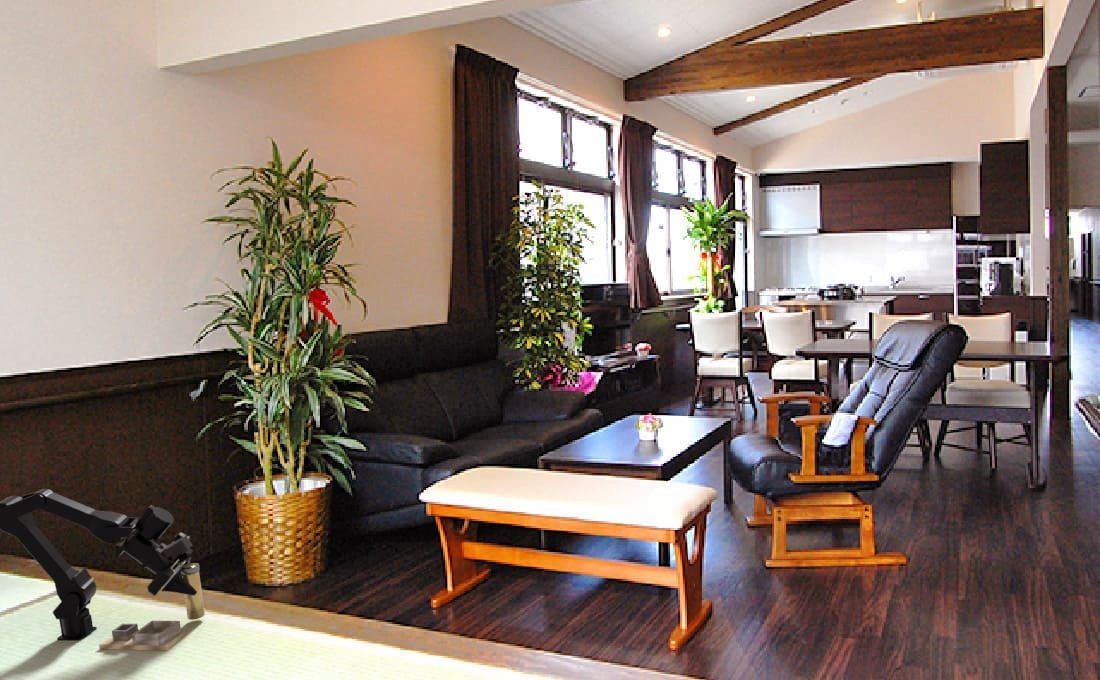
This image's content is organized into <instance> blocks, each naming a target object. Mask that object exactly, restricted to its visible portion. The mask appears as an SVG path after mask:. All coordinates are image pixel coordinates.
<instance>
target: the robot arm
mask: <svg viewBox="0 0 1100 680" xmlns="http://www.w3.org/2000/svg"><path fill="white" fill-rule="evenodd" d="M38 510H40V511H41V510H42V511H44V512H46V513H49V514H51V515H52V516H53V515H54V516H56V517H58V518H60V519H63V520H66V521H68V522H70V523H74V524H75V525H77V526H81V527H83V528H85V529H86V530H88V531H89V533H91V534H92V536H93V537H94V538H97V539H99V540H100V541H102V542H103V543H105V544H107V545H113V544H115V543H117V544H115V546H114V549H115V557H116V558H119V557H120V556H121V555H122V554H123V553H124V552H125V553H126V554H127V555H129V556H130V557H131V558H132V559H134V560H135V561H136V562H138V563H139V564H141V565H140V567H139V568H140V569H142V570H144V569H145V568H146V569H147V570H149V571H151V572H152V573H153V574H154V576H153V579H152V580H151V581H150V583H149V584H148V586H147V592H148V593H149V594H151V595H152V596H153V597H155V596H156V595H157V594H158V593H159V592H160V591H161V592H168V593H169V592H171V593H178V594H183V595H184V594H188V595H193V596H194V595H195V594H196V593H197V591H196V590H195V589H194V588H193V587H192V586H191V585H190V584H189V583H188V582H187V581H186V580H184V579H183V578H182V574H181V570H180V567H182V566H184V565H186V564H191V557H189V556H190V555H191V554H192V553H193V552H194V550H193V549H192V548H191V547H193V544H192V542H191V541H190V540H191V536H190V535H187V534H185V533H183V532H181V531H180V532H179V533H177V534H175V536H174V537H173V539H174V540H173V541H172V542H171V543H169V544H168V545H167V544H165V543H164V542H161V543H160V544H158V543H156V542H155V541H154V540H159V539H160V538H161V537H162V535H163V534H164V533H165V532H166V531H167V530H168V529H169V527H170V526H171V525H172V524H173V522H174V521H175V519H174V516H173V514H172V513H170V512H169V511H168V510H167V509H164V508H162V507H158V506H154V505H152V504H150V506H148V507H147V508H146V509H145V511H144V513H143V514H142V516H141V517H134V516H133V517H131V516H130V517H129V516H127V515H126V514H123V513H120V512H115V511H109V510H108V511H107V510H98V509H94V508H92V507H89V506H86V505H85V504H82V503H80V502H78V501H75V500H73V499H71V498H68V497H66V496H63V495H60V494H58V493H56V492H53V490H51V489H49V488H42V489H40V490H38V491H34V492H31V493H27V494H24V495H21V496H19V495H18V496H17V495H10V496H8V497H6V498H4V499H3V500H1V501H0V531H2V532H4V533H6V534H8V535H9V536H10V535H11V536H13V537H15V538H16V539H17V541H18V542H19V543H20V544H21V545H22V546H23V547H24V549H25V550H26V551H27V552H28V553H29V554H30V555H31V556H32V557H33V559H34V560H35V561H36V562H37V564H38V565H40V567H41V568H42V569H43V571H44V572H45V573H46V574H47V575H48V576H49V578H50V579H51V580H52V581H53V584H54V587H55V591H56V595H57V597H58V598H59V600H60V602H59V604H58V605H57V606H56V607H55V608H54V610H53V611H52V614H53V616H54V618H55V619H56V620H58V622H59V627H60V632H61V635H60V636H58V637H57V641H81V640H82V639H84V638H85V637H88V636H89V635H90V634H92V633H93V632H94V631H96V630H97V626H94V625H93V619H92V614H91V613H90V608H88V607H87V606H88V605H90V604H91V600H92V598H93V597H94V596H95V595H96V593H97V588H98V587H97V584H96V582H95V581H96V578H94V577H92V575H91V574H90V573H89V571H88V570H87V569H86V568H85V567H83V568H82V569H81V570H78V569H76V568H73V567H72V566H71V565H70V564H69V563H68V562H67V560H66V559H65V558H64V557H63V555H62V554H61V553H60V552H59V550H58V549H56V547H55V546H54V545H53V544H52V543H51V541H49V539H48V538H47V537H46V536H45V534H44V533H43V532H42V531H41V530H40V529H39V527H37V525H36V523H35V521H34V516H33V512H34V511H38ZM134 531H136V532H135V533H134V534H132V533H133V532H134ZM123 538H124V540H123V541H122V542H119V541H121V540H122V539H123ZM200 583H201V588H202V587H203V583H202V582H201V581H200Z"/></svg>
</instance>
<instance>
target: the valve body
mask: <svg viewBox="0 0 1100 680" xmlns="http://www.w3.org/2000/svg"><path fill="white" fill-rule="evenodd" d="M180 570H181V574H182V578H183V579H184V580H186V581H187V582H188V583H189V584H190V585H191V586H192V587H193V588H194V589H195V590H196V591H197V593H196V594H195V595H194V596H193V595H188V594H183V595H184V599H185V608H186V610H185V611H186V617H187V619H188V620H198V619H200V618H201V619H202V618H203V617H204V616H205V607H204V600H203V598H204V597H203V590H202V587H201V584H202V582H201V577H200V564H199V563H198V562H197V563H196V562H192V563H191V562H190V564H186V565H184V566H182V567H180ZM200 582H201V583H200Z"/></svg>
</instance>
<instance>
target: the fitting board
mask: <svg viewBox="0 0 1100 680" xmlns="http://www.w3.org/2000/svg"><path fill="white" fill-rule="evenodd" d="M181 626H182V625H181V621H180V620H151V621H149V622H148V623H147V624H145V625H143V626H142V627H140V629H139V626H138V623H121V624H120V625H118V626H117V627H115V628H114V629H113V630H112V631H111V634H112V635H110V636H109V637H107V638H106V639H104V640H103V641H102V642H101V643H98V647H99V650H122V651H123V650H125V651H126V650H128V651H129V650H130V651H131V650H132V651H168V650H170V649H171V648H173V646H175V645H177V644H178V643H179V642H180V641H181V640H183V639H184V638H185V637H186V636H187V631H186V630H182V627H181Z"/></svg>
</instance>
